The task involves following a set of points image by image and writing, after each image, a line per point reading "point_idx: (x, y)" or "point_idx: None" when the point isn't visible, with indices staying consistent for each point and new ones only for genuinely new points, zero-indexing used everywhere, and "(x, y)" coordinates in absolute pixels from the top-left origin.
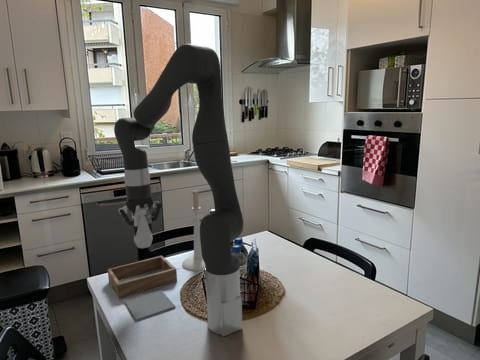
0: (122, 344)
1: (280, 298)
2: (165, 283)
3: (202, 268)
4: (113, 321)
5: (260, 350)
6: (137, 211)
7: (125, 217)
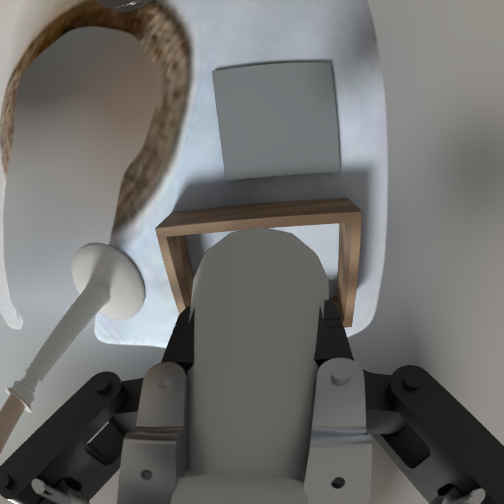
0: (369, 8)
1: (22, 59)
2: (205, 210)
3: (98, 246)
4: (380, 99)
5: None
6: None
7: (473, 440)
